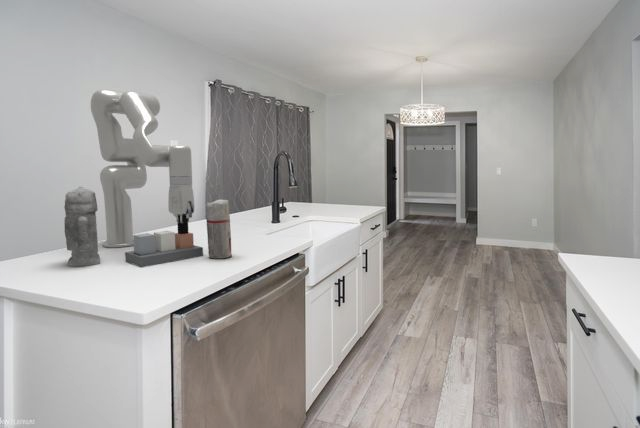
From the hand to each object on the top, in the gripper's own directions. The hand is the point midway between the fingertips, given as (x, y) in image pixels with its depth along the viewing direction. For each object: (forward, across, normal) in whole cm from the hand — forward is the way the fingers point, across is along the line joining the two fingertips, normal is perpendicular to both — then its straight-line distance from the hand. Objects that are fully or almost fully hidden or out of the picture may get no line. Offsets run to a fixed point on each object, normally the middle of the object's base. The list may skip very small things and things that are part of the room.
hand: (183, 233), depth 149 cm
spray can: (+8, +12, +7) cm, 16 cm away
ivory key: (+5, 0, -7) cm, 8 cm away
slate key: (+5, 0, -14) cm, 15 cm away
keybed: (+8, 0, -7) cm, 10 cm away
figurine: (+8, -14, -28) cm, 32 cm away
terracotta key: (+6, 0, 0) cm, 6 cm away
